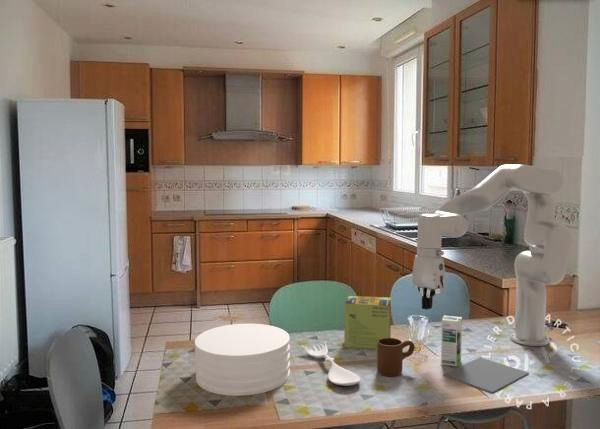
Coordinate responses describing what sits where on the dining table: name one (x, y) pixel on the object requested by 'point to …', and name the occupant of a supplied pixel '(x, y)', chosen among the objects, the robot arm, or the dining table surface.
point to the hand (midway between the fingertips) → (426, 308)
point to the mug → (392, 355)
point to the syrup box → (451, 341)
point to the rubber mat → (486, 374)
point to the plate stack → (242, 359)
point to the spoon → (333, 367)
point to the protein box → (367, 321)
